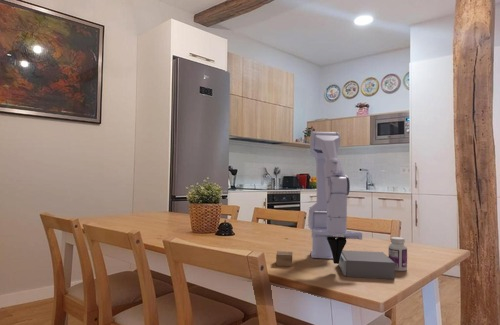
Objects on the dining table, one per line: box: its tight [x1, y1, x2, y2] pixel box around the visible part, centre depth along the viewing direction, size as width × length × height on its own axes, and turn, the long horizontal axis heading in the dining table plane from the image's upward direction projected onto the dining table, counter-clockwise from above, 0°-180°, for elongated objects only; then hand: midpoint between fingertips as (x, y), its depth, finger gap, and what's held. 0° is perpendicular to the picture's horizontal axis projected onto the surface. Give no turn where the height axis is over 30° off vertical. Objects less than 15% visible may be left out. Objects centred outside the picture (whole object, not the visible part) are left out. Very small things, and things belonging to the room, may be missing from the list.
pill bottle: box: [388, 236, 408, 272], centre depth 114 cm, size 5×5×10 cm
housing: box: [342, 249, 396, 280], centre depth 110 cm, size 14×13×5 cm
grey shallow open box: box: [338, 253, 347, 277], centre depth 110 cm, size 14×13×4 cm
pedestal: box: [275, 250, 293, 267], centre depth 117 cm, size 5×5×4 cm
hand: (336, 262), depth 108 cm, fingers closed
